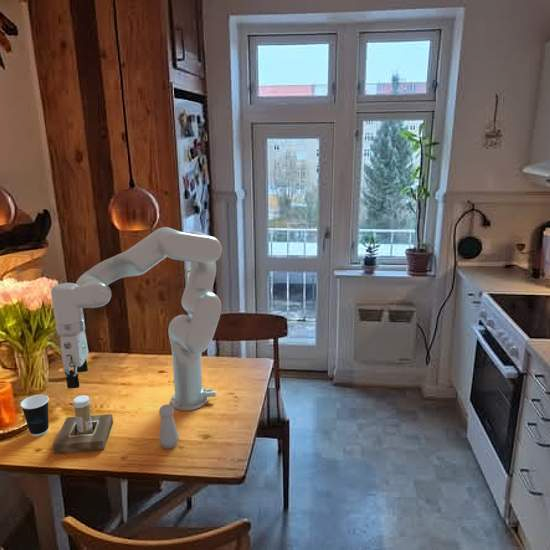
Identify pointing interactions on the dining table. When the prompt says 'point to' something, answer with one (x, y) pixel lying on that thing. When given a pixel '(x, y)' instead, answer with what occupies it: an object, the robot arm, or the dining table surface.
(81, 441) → the socket block
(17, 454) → the dining table surface
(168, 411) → the salt shaker
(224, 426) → the dining table surface
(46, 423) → the dixie cup
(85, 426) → the sprinkles bottle
